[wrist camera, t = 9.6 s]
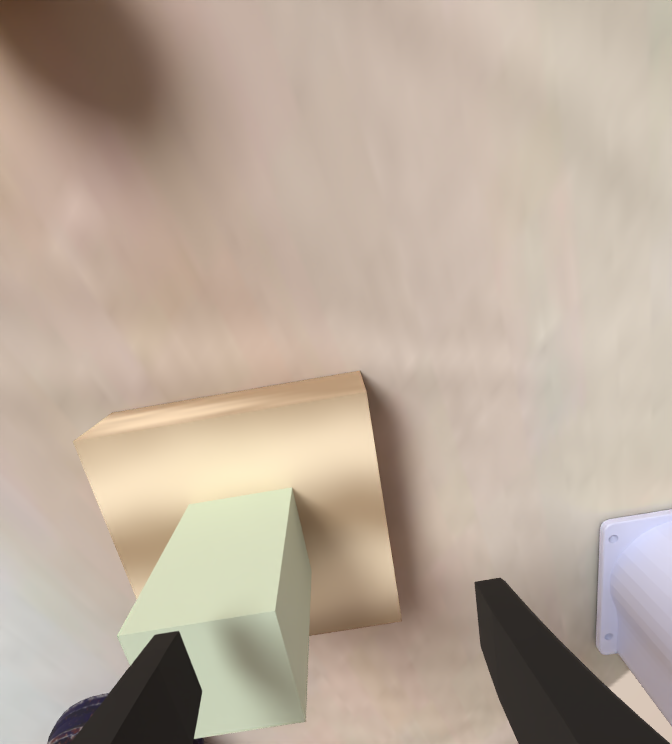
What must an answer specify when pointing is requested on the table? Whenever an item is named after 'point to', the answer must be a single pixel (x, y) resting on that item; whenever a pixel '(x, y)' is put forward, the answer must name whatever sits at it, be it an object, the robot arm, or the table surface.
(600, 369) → the table surface
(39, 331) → the table surface
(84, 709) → the storage jar
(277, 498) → the sage block
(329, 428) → the birch plinth
